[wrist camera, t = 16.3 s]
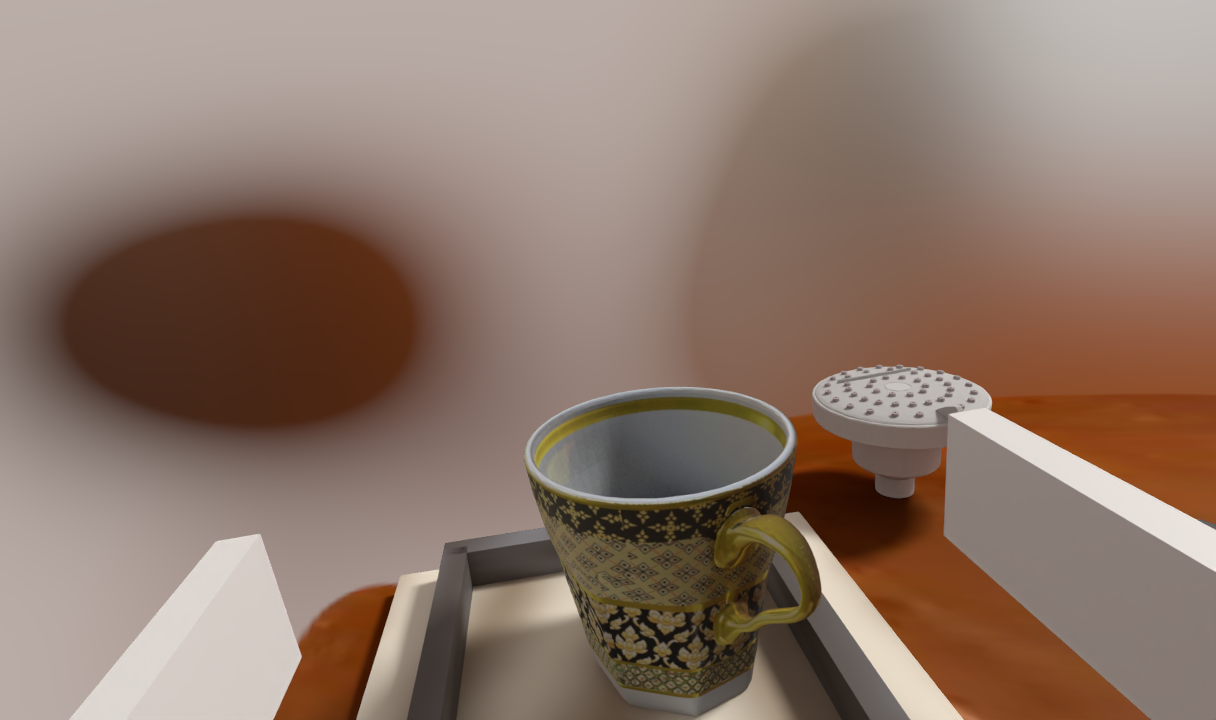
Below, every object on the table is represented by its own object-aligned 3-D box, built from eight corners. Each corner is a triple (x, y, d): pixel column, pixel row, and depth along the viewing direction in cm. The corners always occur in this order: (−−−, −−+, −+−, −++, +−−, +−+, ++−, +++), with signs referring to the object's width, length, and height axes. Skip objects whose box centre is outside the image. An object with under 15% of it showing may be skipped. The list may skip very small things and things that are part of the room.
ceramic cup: (523, 629, 29) (488, 427, 26) (704, 552, 33) (691, 370, 30) (684, 900, 18) (655, 600, 15) (926, 733, 22) (941, 472, 19)
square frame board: (799, 527, 36) (798, 479, 35) (1100, 924, 17) (1114, 843, 16) (404, 591, 34) (392, 543, 33) (252, 1116, 15) (217, 1036, 14)
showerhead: (876, 425, 31) (784, 366, 41) (874, 553, 33) (786, 469, 43) (1046, 393, 33) (918, 343, 42) (1033, 518, 35) (914, 444, 44)
